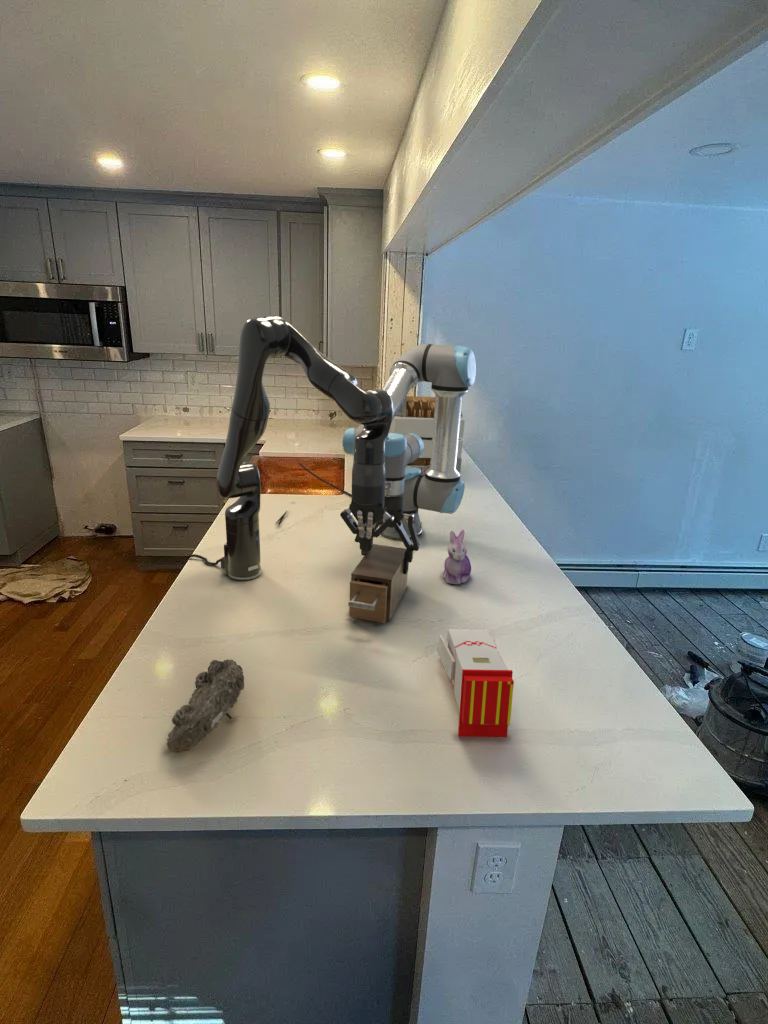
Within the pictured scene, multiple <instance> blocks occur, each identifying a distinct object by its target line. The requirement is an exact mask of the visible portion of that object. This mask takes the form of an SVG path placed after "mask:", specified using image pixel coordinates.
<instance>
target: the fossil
mask: <svg viewBox="0 0 768 1024" xmlns="http://www.w3.org/2000/svg"><path fill="white" fill-rule="evenodd" d="M243 670H244V669H243V667H242V665H240V664H237V662H236V661H235V660H234V659H232V658H231V659H227V658H226V659H224V660H223V661H222V660H217V659H212V660H211V661H210V663H209V665H208V666H207V671H201V672H199V673H198V674H197V675H196V676H195V680H194V684H195V685H194V687H195V689H194V690H193V693H192V694H191V697H190V698H189V700H188V704H184V705H182V706H181V707H180V709H177V710H176V711H175V713H174V715H173V716H172V718H171V723H172V724H173V727H172V730H171V731H170V732H168V734H167V738H166V741H167V742H166V745H167V749H168V750H169V751H173V752H174V753H176V754H178V753H182V752H188V751H189V752H192V751H193V750H195V748H196V747H197V746H199V744H200V743H201V742H203V741H204V740H205V739H206V738H207V737H208V736H209V735H210V734H211V733H212V732H214V730H215V729H217V727H218V726H219V724H220V722H221V721H222V720H223V719H224V718H225V716H226V717H227V719H229V720H233V717H232V715H230V714H229V710H230V709H231V708H234V706H235V704H236V703H237V702H238V699H239V697H240V695H241V693H242V691H243V690H245V689H244V688H245V675H244V671H243Z"/></svg>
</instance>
